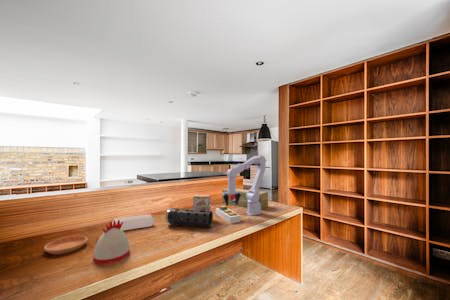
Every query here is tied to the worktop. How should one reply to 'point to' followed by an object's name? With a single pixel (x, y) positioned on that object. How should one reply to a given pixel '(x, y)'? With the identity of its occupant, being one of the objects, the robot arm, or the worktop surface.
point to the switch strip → (228, 216)
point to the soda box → (243, 200)
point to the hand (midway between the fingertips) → (231, 204)
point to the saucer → (65, 245)
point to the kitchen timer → (111, 245)
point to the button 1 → (223, 207)
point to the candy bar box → (201, 202)
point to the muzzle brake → (189, 217)
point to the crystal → (135, 222)
